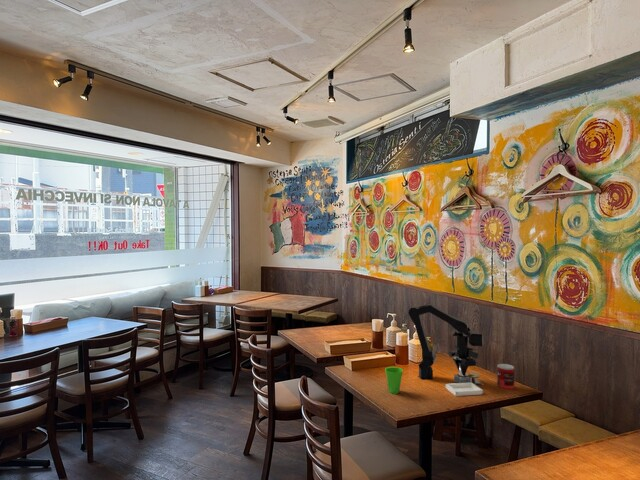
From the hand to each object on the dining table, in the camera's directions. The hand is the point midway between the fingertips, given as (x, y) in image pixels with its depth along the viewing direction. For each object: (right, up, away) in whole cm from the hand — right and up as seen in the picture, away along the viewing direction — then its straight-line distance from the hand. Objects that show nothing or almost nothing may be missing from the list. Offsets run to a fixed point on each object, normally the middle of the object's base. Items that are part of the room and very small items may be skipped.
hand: (462, 374), depth 214 cm
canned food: (+20, -5, -6) cm, 22 cm away
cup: (-38, -5, -11) cm, 40 cm away
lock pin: (0, -4, 0) cm, 4 cm away
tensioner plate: (+3, -5, 0) cm, 6 cm away
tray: (-3, -5, -12) cm, 13 cm away
